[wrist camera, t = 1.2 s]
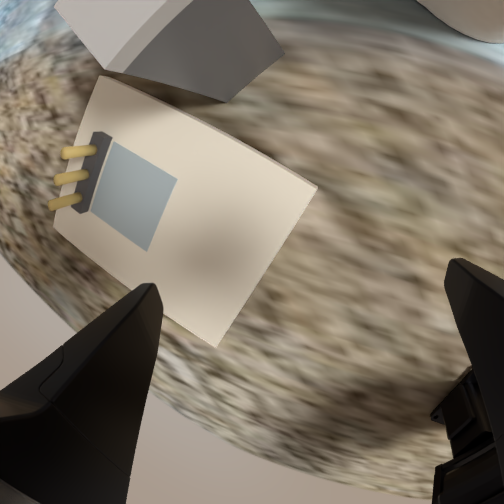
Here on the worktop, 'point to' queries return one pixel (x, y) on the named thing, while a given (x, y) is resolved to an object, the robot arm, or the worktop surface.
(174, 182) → the board
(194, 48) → the plug block
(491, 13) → the toilet tissue
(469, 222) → the worktop surface
